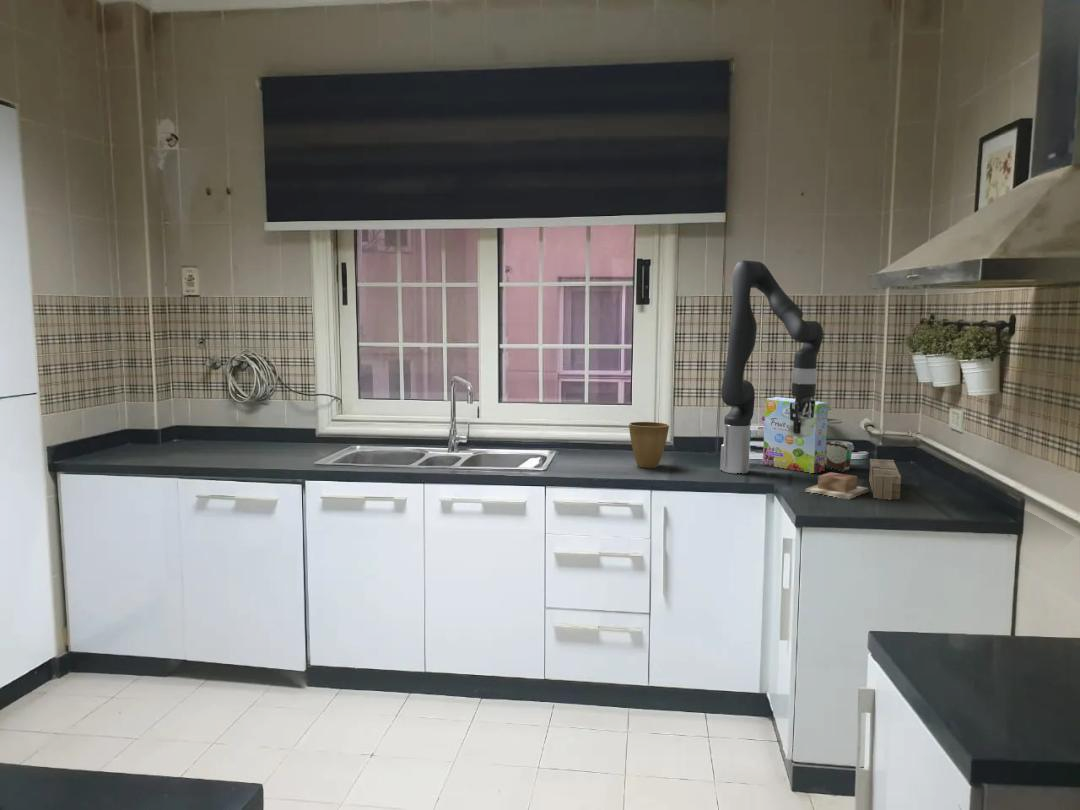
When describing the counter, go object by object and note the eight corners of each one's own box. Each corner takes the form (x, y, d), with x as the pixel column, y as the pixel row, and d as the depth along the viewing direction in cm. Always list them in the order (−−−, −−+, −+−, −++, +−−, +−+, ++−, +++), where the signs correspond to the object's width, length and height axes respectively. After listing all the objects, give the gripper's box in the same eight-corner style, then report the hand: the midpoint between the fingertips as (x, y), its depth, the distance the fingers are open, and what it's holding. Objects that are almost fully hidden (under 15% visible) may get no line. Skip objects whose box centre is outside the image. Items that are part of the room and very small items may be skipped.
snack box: (760, 465, 297) (763, 398, 294) (773, 462, 303) (776, 396, 300) (813, 474, 281) (817, 403, 278) (826, 471, 287) (829, 401, 284)
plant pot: (668, 470, 285) (669, 427, 283) (626, 469, 287) (627, 425, 285) (667, 463, 299) (669, 421, 297) (628, 461, 302) (629, 420, 300)
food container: (860, 471, 288) (862, 444, 287) (847, 472, 286) (848, 445, 284) (836, 465, 299) (837, 439, 298) (823, 466, 297) (824, 440, 296)
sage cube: (788, 435, 260) (789, 417, 259) (796, 433, 264) (797, 415, 264) (805, 437, 256) (806, 419, 255) (813, 435, 260) (814, 417, 260)
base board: (805, 492, 252) (806, 475, 252) (826, 484, 264) (827, 469, 263) (848, 499, 243) (849, 482, 242) (868, 491, 254) (869, 475, 254)
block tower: (899, 504, 243) (893, 482, 270) (901, 477, 241) (895, 458, 268) (872, 501, 245) (868, 480, 272) (874, 475, 244) (870, 456, 271)
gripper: (803, 379, 266) (800, 428, 268) (783, 382, 255) (780, 433, 257) (824, 381, 261) (821, 431, 263) (805, 384, 250) (802, 436, 252)
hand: (801, 432), depth 260 cm, fingers closed on sage cube, 6 cm apart
